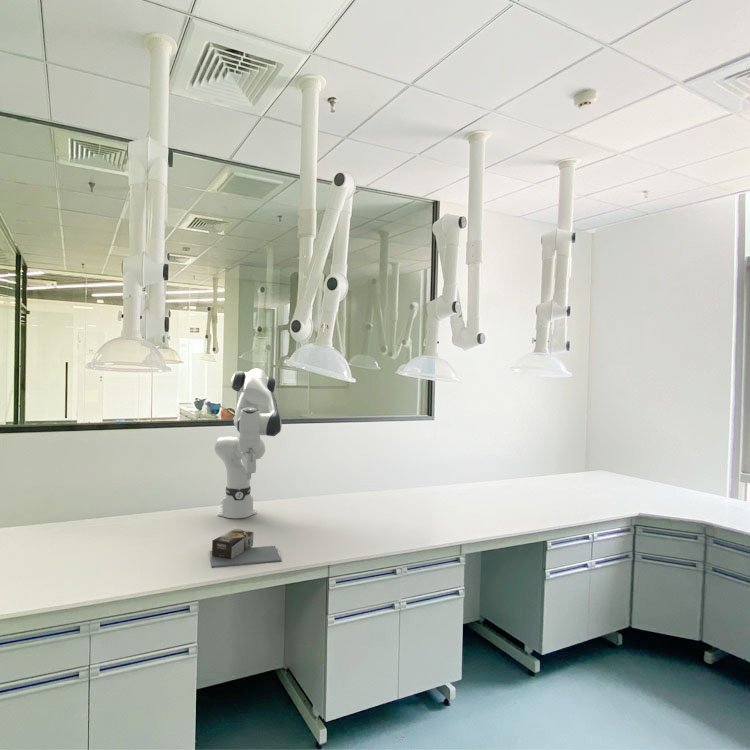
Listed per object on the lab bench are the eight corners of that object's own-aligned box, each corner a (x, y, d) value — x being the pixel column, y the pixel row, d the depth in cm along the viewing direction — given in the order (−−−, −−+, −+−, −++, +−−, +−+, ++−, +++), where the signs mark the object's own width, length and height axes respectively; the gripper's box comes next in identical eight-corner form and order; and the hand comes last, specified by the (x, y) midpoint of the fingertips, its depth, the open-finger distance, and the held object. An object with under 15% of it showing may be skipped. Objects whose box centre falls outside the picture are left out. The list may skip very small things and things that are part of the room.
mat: (209, 552, 207) (209, 550, 207) (274, 547, 216) (274, 545, 216) (211, 567, 192) (211, 565, 192) (281, 561, 201) (281, 559, 201)
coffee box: (253, 530, 214) (232, 543, 199) (253, 546, 214) (231, 559, 199) (234, 527, 217) (211, 539, 201) (234, 542, 217) (211, 556, 201)
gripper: (260, 450, 208) (259, 484, 209) (254, 441, 228) (253, 472, 228) (244, 451, 206) (243, 485, 207) (239, 442, 225) (238, 473, 226)
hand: (248, 478), depth 218 cm, fingers closed
